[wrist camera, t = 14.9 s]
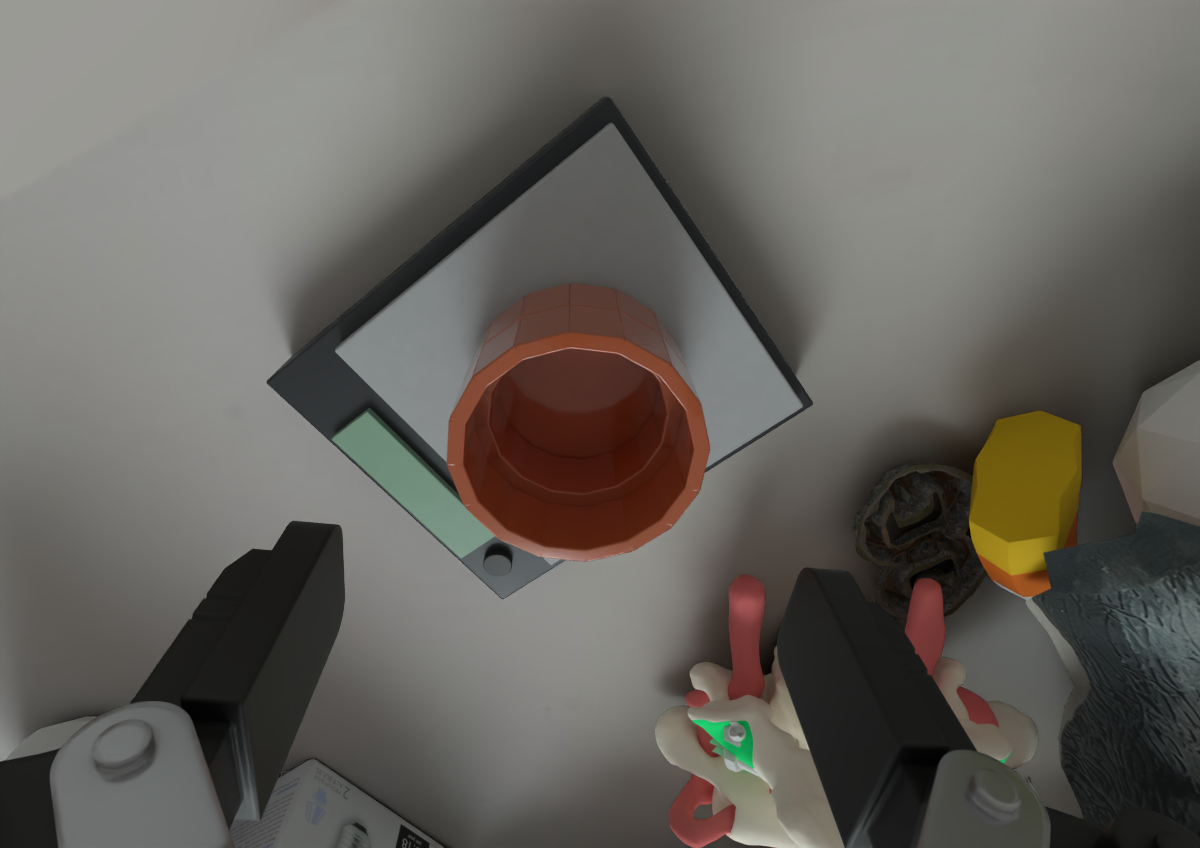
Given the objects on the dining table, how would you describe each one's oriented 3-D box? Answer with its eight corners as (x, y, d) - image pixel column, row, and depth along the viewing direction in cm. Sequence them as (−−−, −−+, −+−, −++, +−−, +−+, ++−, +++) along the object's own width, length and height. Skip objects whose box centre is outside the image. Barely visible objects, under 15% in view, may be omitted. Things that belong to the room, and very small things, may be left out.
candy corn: (950, 531, 21) (978, 644, 26) (1065, 551, 19) (1072, 669, 24) (991, 389, 23) (1010, 517, 28) (1095, 394, 21) (1096, 530, 26)
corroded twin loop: (875, 625, 28) (888, 643, 27) (827, 486, 24) (841, 502, 23) (986, 574, 28) (1004, 591, 27) (956, 426, 24) (975, 440, 23)
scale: (289, 358, 22) (256, 390, 20) (606, 94, 19) (610, 96, 16) (507, 565, 26) (500, 612, 24) (796, 379, 23) (820, 413, 21)
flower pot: (428, 364, 19) (391, 437, 15) (598, 233, 18) (605, 276, 14) (560, 503, 22) (557, 598, 18) (720, 398, 20) (756, 476, 16)
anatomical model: (1205, 693, 16) (1134, 1133, 22) (1008, 496, 26) (995, 835, 32) (598, 716, 19) (679, 1104, 24) (629, 528, 28) (682, 836, 34)
